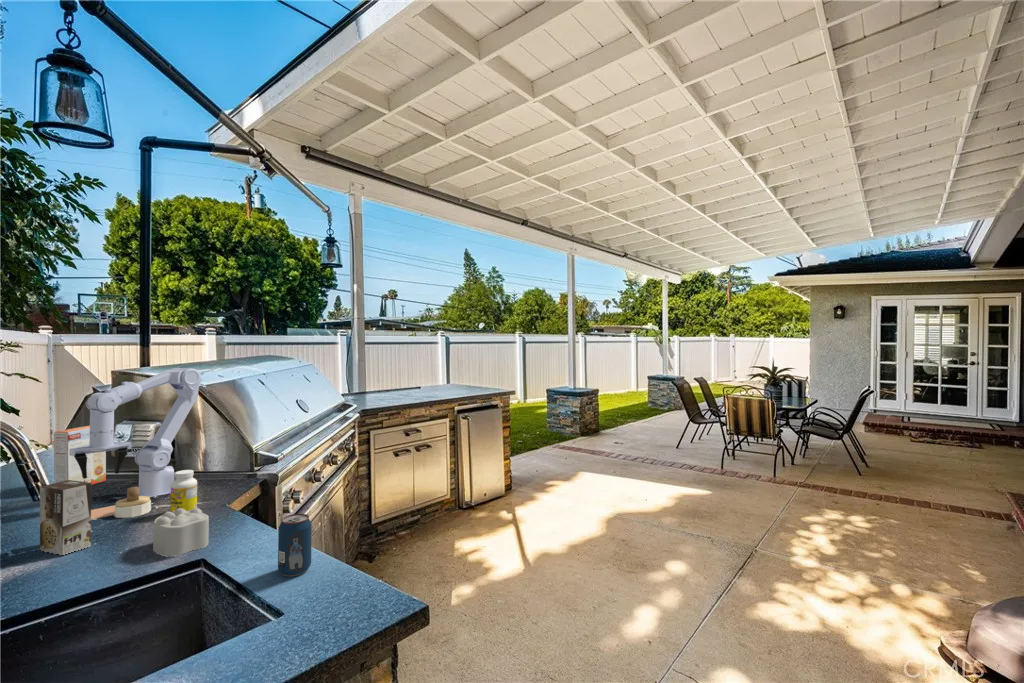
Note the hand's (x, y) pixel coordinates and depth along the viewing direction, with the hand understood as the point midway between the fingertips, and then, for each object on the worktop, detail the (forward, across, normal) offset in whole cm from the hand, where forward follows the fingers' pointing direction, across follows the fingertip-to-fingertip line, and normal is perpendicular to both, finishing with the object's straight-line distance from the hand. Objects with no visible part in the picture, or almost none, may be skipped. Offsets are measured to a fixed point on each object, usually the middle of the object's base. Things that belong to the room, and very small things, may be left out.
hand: (100, 475), depth 150 cm
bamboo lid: (+7, -5, +14) cm, 16 cm away
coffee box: (+11, +12, +31) cm, 35 cm away
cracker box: (+10, 0, -34) cm, 36 cm away
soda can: (+10, -20, +85) cm, 88 cm away
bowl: (+10, -5, +14) cm, 18 cm away
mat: (+10, +1, +7) cm, 12 cm away
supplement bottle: (+10, -15, +25) cm, 31 cm away
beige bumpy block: (+11, -7, +50) cm, 52 cm away
